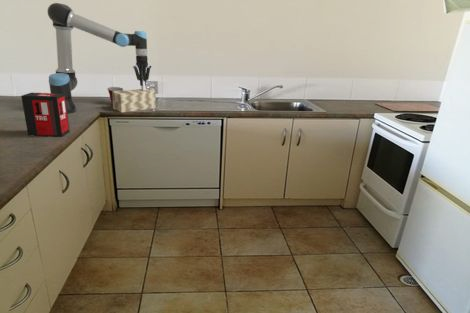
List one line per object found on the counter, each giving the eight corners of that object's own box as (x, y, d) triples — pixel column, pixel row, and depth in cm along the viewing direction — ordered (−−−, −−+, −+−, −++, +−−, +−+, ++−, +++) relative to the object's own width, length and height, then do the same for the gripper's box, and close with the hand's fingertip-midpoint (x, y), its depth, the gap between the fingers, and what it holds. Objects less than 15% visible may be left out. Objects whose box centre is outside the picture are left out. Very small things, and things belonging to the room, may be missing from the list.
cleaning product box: (28, 135, 166) (21, 95, 159) (37, 130, 175) (31, 92, 168) (62, 137, 167) (56, 97, 160) (69, 132, 175) (64, 93, 168)
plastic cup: (114, 107, 235) (113, 89, 231) (105, 104, 241) (104, 87, 237) (127, 105, 243) (126, 88, 239) (118, 102, 249) (117, 86, 245)
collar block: (121, 112, 221) (120, 94, 217) (113, 109, 229) (111, 91, 225) (155, 108, 238) (155, 91, 234) (147, 105, 246) (146, 88, 242)
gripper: (135, 55, 219) (137, 91, 227) (153, 55, 228) (154, 90, 236) (130, 55, 224) (132, 90, 232) (147, 54, 233) (148, 88, 241)
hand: (143, 90), depth 234 cm, fingers closed
